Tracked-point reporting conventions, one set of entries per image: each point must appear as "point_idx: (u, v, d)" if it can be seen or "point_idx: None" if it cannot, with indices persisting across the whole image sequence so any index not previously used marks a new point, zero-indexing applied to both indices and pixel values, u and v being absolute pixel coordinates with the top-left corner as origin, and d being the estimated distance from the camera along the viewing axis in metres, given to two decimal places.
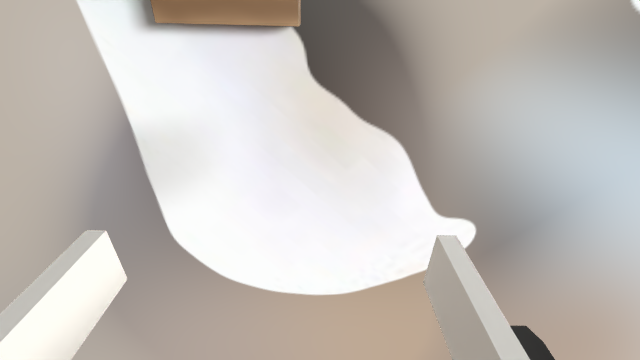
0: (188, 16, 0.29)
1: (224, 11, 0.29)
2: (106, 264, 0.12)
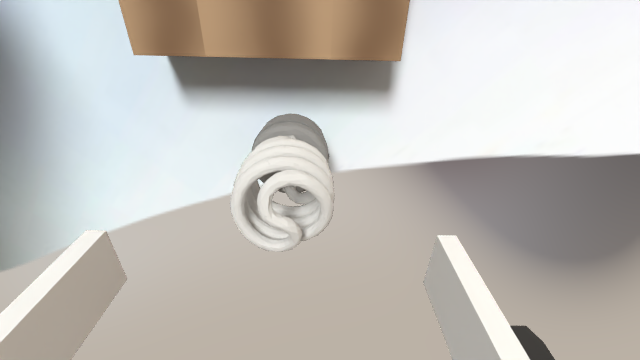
0: None
1: None
2: (106, 264, 0.12)
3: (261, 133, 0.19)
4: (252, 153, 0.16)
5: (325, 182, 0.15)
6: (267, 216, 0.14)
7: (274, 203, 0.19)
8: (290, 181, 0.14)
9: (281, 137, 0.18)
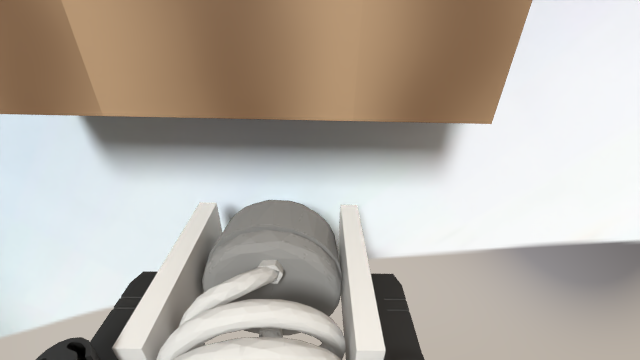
0: None
1: None
2: (216, 232, 0.13)
3: (218, 249, 0.10)
4: (178, 337, 0.08)
5: None
6: None
7: None
8: None
9: (248, 279, 0.09)
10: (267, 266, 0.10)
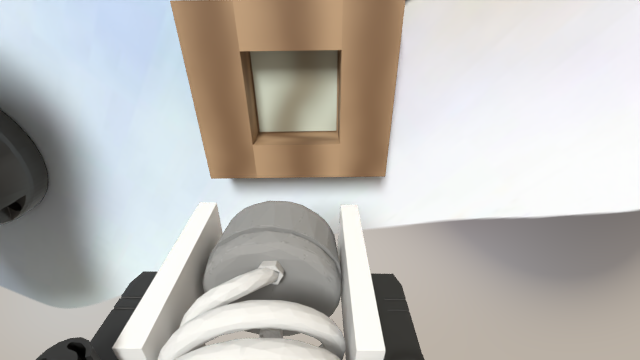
0: (382, 143, 0.26)
1: (379, 101, 0.24)
2: (216, 232, 0.13)
3: (218, 250, 0.10)
4: (178, 338, 0.08)
5: None
6: None
7: None
8: None
9: (249, 280, 0.09)
10: (267, 267, 0.10)
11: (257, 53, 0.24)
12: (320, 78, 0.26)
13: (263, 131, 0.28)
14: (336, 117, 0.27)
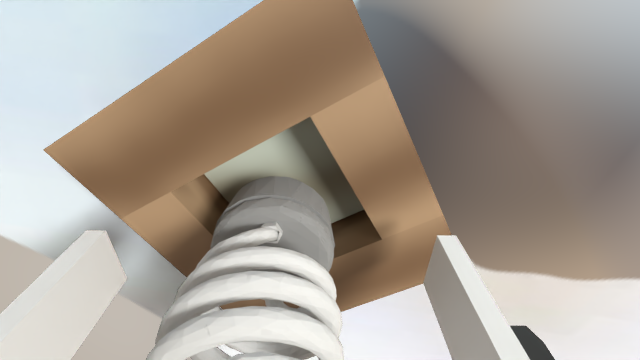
0: None
1: (342, 297, 0.18)
2: (106, 264, 0.12)
3: (225, 215, 0.12)
4: (194, 276, 0.09)
5: (326, 350, 0.08)
6: None
7: None
8: None
9: (253, 234, 0.10)
10: (268, 226, 0.11)
11: None
12: None
13: None
14: None
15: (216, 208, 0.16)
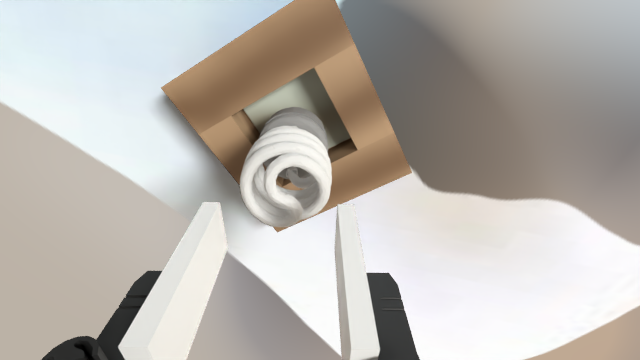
0: None
1: (334, 195, 0.27)
2: (219, 231, 0.13)
3: (267, 124, 0.21)
4: (259, 140, 0.18)
5: (323, 165, 0.17)
6: (271, 193, 0.16)
7: (278, 187, 0.21)
8: (292, 162, 0.16)
9: (285, 127, 0.20)
10: (292, 126, 0.21)
11: (313, 72, 0.24)
12: None
13: (244, 109, 0.26)
14: None
15: (253, 134, 0.26)
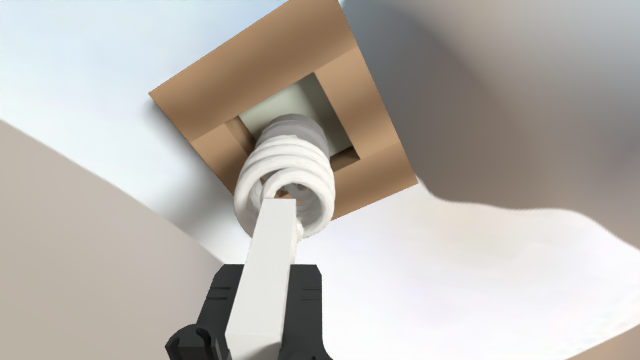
0: None
1: (335, 207, 0.25)
2: None
3: (263, 132, 0.20)
4: (255, 152, 0.17)
5: (326, 180, 0.16)
6: None
7: None
8: (292, 179, 0.14)
9: (283, 136, 0.18)
10: (291, 136, 0.19)
11: (313, 76, 0.23)
12: None
13: (238, 115, 0.24)
14: None
15: (249, 142, 0.24)
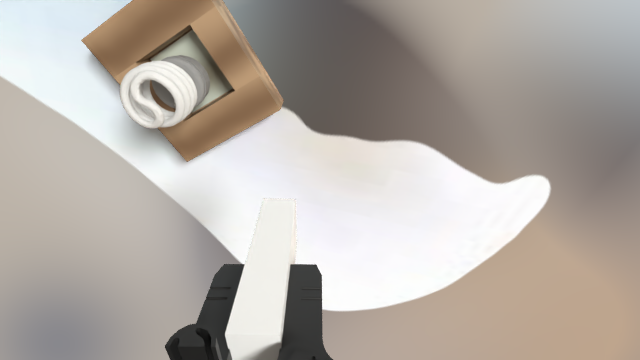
0: (204, 146, 0.37)
1: (225, 129, 0.35)
2: None
3: None
4: None
5: (177, 83, 0.26)
6: (135, 97, 0.24)
7: (163, 109, 0.29)
8: (147, 75, 0.24)
9: None
10: None
11: None
12: (215, 83, 0.36)
13: None
14: (200, 107, 0.37)
15: None
